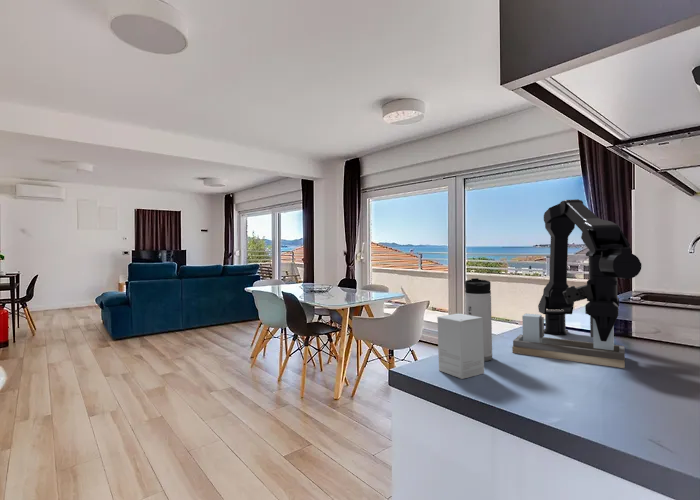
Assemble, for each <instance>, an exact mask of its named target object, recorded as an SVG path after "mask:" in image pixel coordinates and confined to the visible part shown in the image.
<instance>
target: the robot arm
mask: <svg viewBox="0 0 700 500" xmlns="http://www.w3.org/2000/svg"><path fill="white" fill-rule="evenodd" d="M543 221H544V226H545V230H546V232H547V233H548V235H549V236H550V244H549V245H550V247H549V249H550V251H549V281H548V282H547V284H546V285H545V286H544V288H543V293H542V295H541V297H540V300H539V303H538V306H537V307H538V313H540V314H541V315H544V317H545V318H544V334H552V335H561V336H566V335H567V333H568V332H569V329H566V327H567V326H566V315H573V311H574V306H575V302H580V301H582V300H586V301H587V303H586V304H585V305H584V307H585V311H584V312H585V315H588V316H589V317H590V316H591V317H592V318H593V319H595V321H596V325H597V329H598V332H599V336H600V340H601V341H607V338H608V336H609V334H610V332H611V330H612V328H613V326H614V325H615V323H616V321H617V319H618V317H619V312H620V310H619V307H620V298H619V297H618V278H619V279H626V280H629V279H633V278H635V277H637V276H638V275H639V274H640V272H641V270H642V266H643V265H642V262H641V260H640V259H639V257H638V256H637V255H635V254H633V253H632V248H631V247H630V246H631V245H630V242H629V241H628V239H627V237H626V236H625V234H624V232H623V230H622V229H621V227H620V225H619V224H616V223H615V222H613V221H610V220H606V219H602V218H599V217H598V216H597V215H596V214H595V213H594V212H592V210H591V209H590V208H588V207H587V206H586V205H585V204H584V201H583V200H582V199H579V198H578V199H564V200H561V201H560V202H559V203H557V204H556V205H553V206H551V207H549V208H547V210H546V211H545V212H544V213H543ZM575 226H576V227H577V228H578V229H579V230H580V231H581V236H580V239H581V240H582V243H583V244H584V245H585V246H586V248H587V249H588V251H587V252H586V253H585V257H588V279H587V280H586V284H585V285H581V286H575V285H572V286H569V284H568V282H567V281H568V255H569V254H568V253H569V252H568V251H569V250H568V249H569V237H570V235H571V234H572V233H573V231H574V230H575ZM614 327H615V326H614Z"/></svg>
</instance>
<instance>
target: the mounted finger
mask: <svg viewBox="0 0 700 500" xmlns="http://www.w3.org/2000/svg"><path fill="white" fill-rule="evenodd" d="M542 315H543V314H537V313H535V314H534V313H524V314H523V315H522V316H521V317H522V335H523V341H527V342H535V343H542V338H543V337H545V333H544V329H545V318H544V317H545V316H542Z"/></svg>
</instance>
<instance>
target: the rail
mask: <svg viewBox="0 0 700 500" xmlns="http://www.w3.org/2000/svg"><path fill="white" fill-rule="evenodd" d="M511 350H512V353H513V354H519V355H527V356H534V357H542V358H549V359H556V360H562V361H570V362H578V363H586V364H592V365H598V366H599V365H601V366H606V367H613V368H614V367H615V368H621V369H625V367H626V366H625V365H626V363H625V359H626V358H625V356H626V355H625V345H620V344H614V351H613V350H605V349H596V348H593V341H592V342H591V341H583V340H572V339H563V338H555V337H545V336H543V338H542V343H535V342H527V341H523V334H519V335H517V336H516V338H514V339H513V340H512V349H511Z"/></svg>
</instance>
